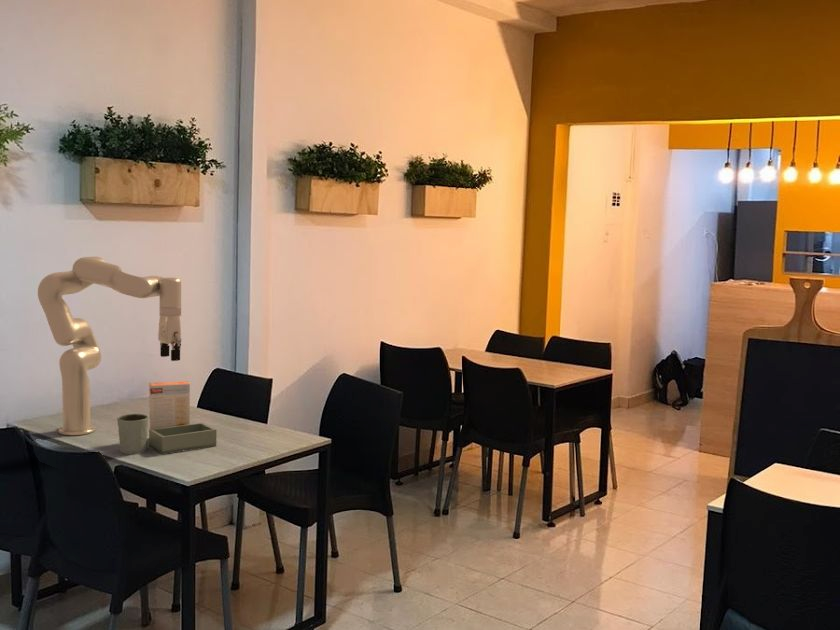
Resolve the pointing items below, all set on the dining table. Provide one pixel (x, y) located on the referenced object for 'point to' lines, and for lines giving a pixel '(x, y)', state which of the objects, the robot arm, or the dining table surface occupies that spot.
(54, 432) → the dining table surface
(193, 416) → the dining table surface
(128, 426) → the grey-green cup
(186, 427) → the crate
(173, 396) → the cracker box
